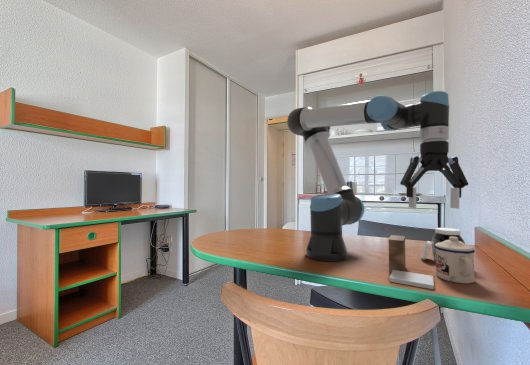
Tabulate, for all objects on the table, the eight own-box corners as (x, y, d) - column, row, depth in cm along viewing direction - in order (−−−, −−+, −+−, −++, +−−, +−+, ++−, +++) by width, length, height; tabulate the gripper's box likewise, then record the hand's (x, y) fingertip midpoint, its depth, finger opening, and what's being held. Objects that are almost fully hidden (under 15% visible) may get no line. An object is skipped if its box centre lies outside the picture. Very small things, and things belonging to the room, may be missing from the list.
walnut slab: (389, 272, 75) (388, 239, 75) (391, 265, 81) (391, 235, 82) (404, 274, 72) (403, 240, 73) (405, 267, 79) (404, 236, 79)
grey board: (389, 281, 67) (389, 277, 67) (392, 272, 74) (392, 269, 74) (433, 289, 61) (433, 285, 61) (432, 279, 68) (432, 275, 68)
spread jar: (470, 269, 77) (469, 232, 77) (430, 267, 79) (430, 231, 79) (450, 258, 89) (449, 226, 89) (415, 256, 91) (415, 225, 91)
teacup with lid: (429, 271, 75) (428, 233, 75) (463, 273, 73) (462, 234, 73) (450, 287, 63) (449, 242, 63) (491, 290, 61) (490, 243, 61)
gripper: (401, 139, 74) (401, 208, 74) (483, 140, 74) (482, 209, 74) (389, 143, 82) (388, 206, 82) (463, 144, 82) (462, 207, 82)
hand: (433, 208), depth 78 cm, fingers open, 13 cm apart
